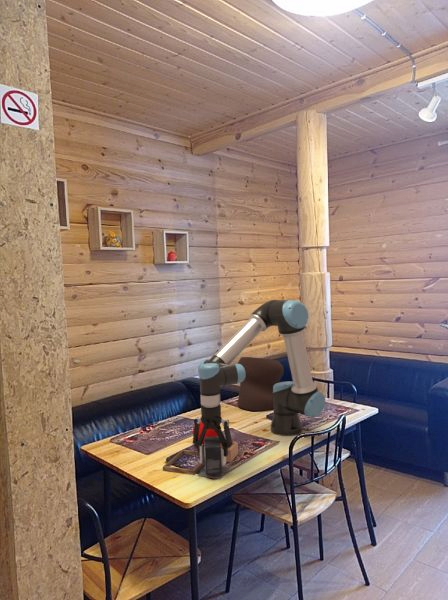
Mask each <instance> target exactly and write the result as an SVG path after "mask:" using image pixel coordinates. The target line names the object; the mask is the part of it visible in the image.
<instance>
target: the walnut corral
mask: <svg viewBox="0 0 448 600" xmlns="http://www.w3.org/2000/svg"><path fill="white" fill-rule="evenodd" d="M183 455H190V456H197V457H200V454H198V450H197V451H196V450H189V449H188V450H187V449H181V450H180V451H179V452H178V453H177V454H175V455H174V456H173V457H172V458H171V459H170V460H169V461H168V462H167V463H165V464H164V465H163V466H162V471H164V472H171V473H179V474H187V475H192V476H193V475H194V476H195V475H196V474H197V473H198V472H199V471H200V470H201V469H203V468H204V467H203V466H205V461H204V462H203V463H200V462H199V463H198V464H197V466H196V467H195V468H194V469H190V468H183V467H182V468H181V467H174V466H172V465H173V464H174V463H175V462H176V461H177V460H179V458H181V457H182V456H183ZM202 467H203V468H202Z"/></svg>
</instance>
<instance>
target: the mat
mask: <svg viewBox="0 0 448 600" xmlns="http://www.w3.org/2000/svg"><path fill="white" fill-rule="evenodd" d="M228 470H229V467H226V466H222V473H219V474H206V470H205V467H203V468H202V470H201V471H200V472H199V473H198V474H197V477H203V478H207V479H208V478H209V479H215V480H221V479H222V477H223V476H224V475H225V474H226V473H227V471H228ZM225 472H226V473H225Z"/></svg>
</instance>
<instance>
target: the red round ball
mask: <svg viewBox="0 0 448 600" xmlns="http://www.w3.org/2000/svg"><path fill="white" fill-rule="evenodd" d="M203 426H204V425H203V423H202V422H201V423H200V428H199V436H198V440H199V437H200V435H201V432H202V429H203ZM194 427H195V424H194V426H193V429H192V435H194ZM216 436H218V435H217V433H216V432H215V430H212V429H207V432H206V434H205V437H216ZM202 444H204V440H203V443H202Z"/></svg>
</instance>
